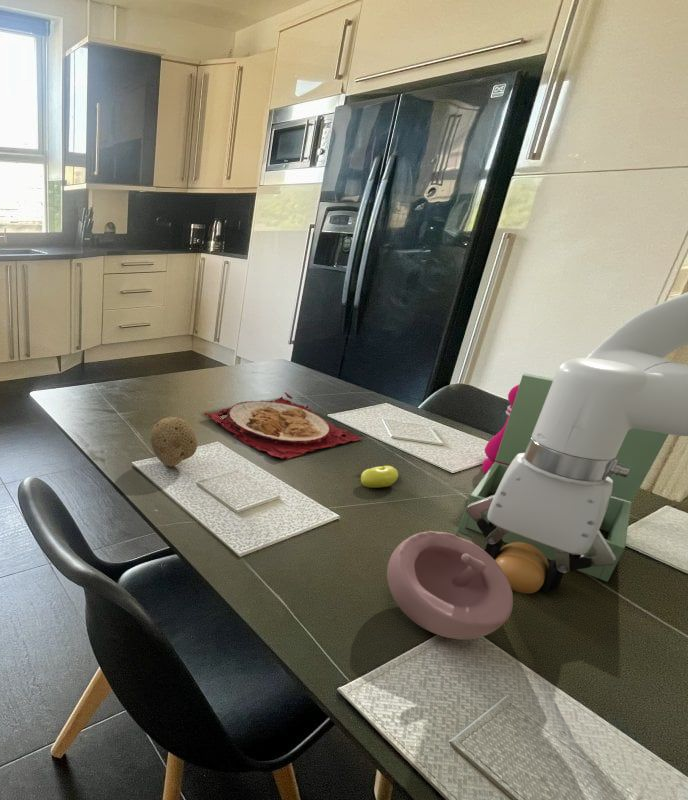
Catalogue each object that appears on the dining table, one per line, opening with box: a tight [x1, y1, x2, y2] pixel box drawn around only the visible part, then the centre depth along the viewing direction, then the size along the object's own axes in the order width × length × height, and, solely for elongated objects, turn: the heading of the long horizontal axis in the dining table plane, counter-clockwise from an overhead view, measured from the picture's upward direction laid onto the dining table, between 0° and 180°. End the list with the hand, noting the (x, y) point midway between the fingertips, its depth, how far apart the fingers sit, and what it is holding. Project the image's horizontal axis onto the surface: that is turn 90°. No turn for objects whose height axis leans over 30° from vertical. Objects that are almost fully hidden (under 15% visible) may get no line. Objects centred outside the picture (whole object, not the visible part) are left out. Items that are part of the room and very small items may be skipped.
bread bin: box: [457, 462, 633, 583], centre depth 75 cm, size 17×17×7 cm
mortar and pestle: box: [386, 530, 514, 640], centre depth 58 cm, size 12×12×12 cm
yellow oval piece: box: [360, 465, 399, 489], centre depth 89 cm, size 4×8×4 cm, turn 106°
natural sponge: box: [149, 416, 198, 468], centre depth 94 cm, size 9×9×10 cm
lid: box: [496, 372, 670, 502], centre depth 75 cm, size 17×17×5 cm
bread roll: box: [495, 542, 549, 595], centre depth 65 cm, size 9×5×5 cm, turn 131°
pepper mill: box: [481, 383, 520, 474], centre depth 91 cm, size 7×7×20 cm
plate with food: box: [204, 391, 363, 460], centre depth 112 cm, size 24×26×4 cm
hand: (516, 575), depth 66 cm, fingers closed on bread roll, 5 cm apart
